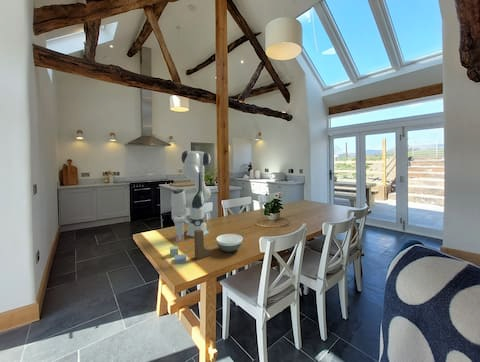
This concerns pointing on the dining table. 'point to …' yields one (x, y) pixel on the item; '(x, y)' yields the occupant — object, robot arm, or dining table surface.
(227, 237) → the bowl
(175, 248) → the sage green cube
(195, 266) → the dining table surface
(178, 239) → the pinkish brown cube
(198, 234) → the wooden block
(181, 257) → the slate blue block
